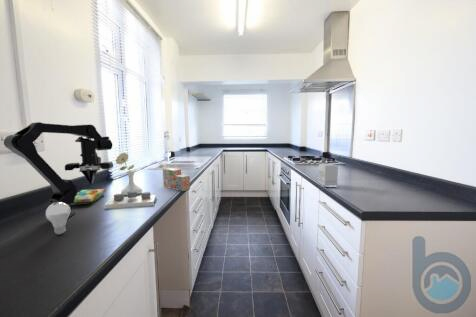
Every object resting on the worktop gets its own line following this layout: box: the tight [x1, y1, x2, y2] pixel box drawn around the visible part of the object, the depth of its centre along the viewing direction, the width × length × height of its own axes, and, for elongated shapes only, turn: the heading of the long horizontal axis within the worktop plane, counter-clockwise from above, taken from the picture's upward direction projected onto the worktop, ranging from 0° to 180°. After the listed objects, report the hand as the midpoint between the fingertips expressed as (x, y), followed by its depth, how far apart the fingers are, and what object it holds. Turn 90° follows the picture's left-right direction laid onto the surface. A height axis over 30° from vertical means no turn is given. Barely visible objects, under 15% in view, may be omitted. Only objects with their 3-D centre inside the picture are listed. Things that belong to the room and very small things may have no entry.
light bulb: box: [45, 202, 72, 236], centre depth 80 cm, size 7×7×12 cm
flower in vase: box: [115, 152, 143, 196], centre depth 130 cm, size 13×11×25 cm
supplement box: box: [318, 163, 339, 186], centre depth 149 cm, size 9×9×15 cm
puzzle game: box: [71, 188, 106, 206], centre depth 120 cm, size 12×5×20 cm
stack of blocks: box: [162, 167, 191, 192], centre depth 146 cm, size 21×6×12 cm, turn 49°
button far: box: [140, 191, 151, 199], centre depth 117 cm, size 4×4×2 cm
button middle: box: [127, 191, 138, 198], centre depth 116 cm, size 4×4×2 cm
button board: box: [104, 194, 157, 210], centre depth 115 cm, size 12×22×2 cm, turn 103°
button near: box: [113, 193, 125, 201], centre depth 114 cm, size 4×4×2 cm
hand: (91, 183), depth 107 cm, fingers closed
